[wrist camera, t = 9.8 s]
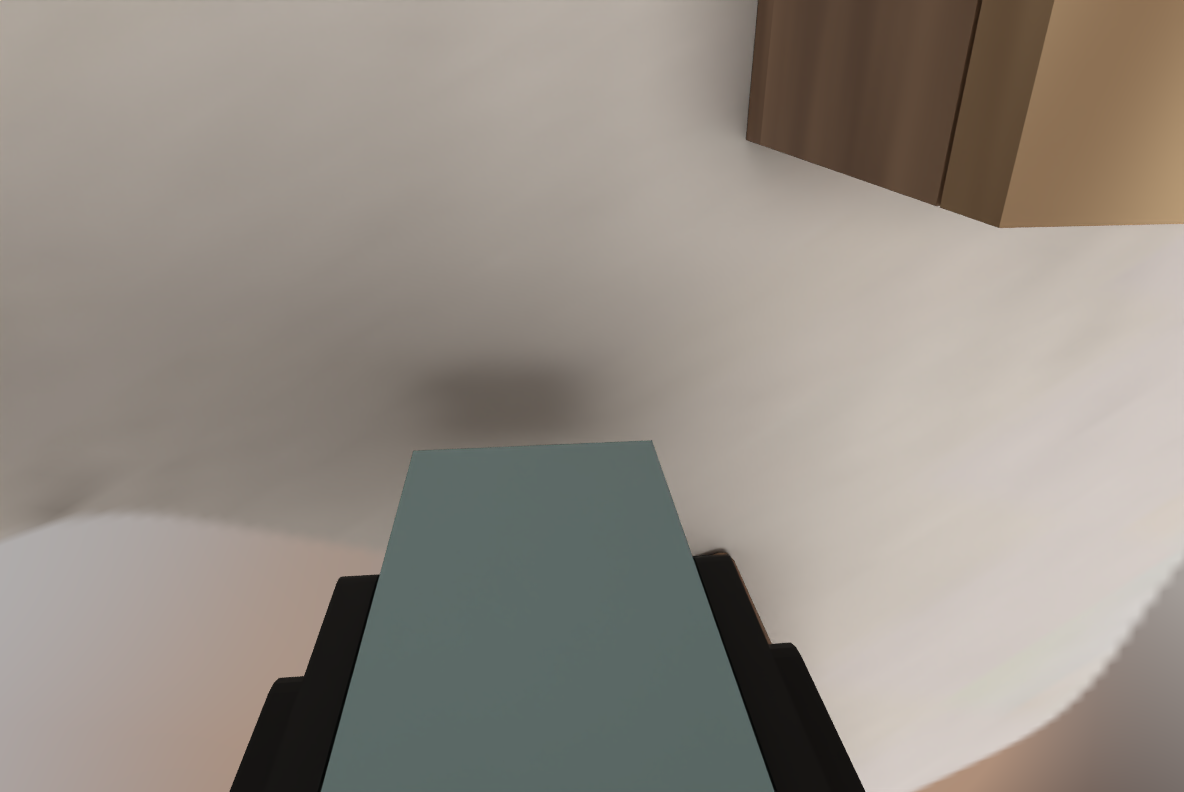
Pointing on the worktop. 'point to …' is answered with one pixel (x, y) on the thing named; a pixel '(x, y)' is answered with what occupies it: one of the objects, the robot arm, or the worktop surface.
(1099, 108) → the lid
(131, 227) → the worktop surface
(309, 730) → the robot arm
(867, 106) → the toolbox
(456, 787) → the teal rectangular block
